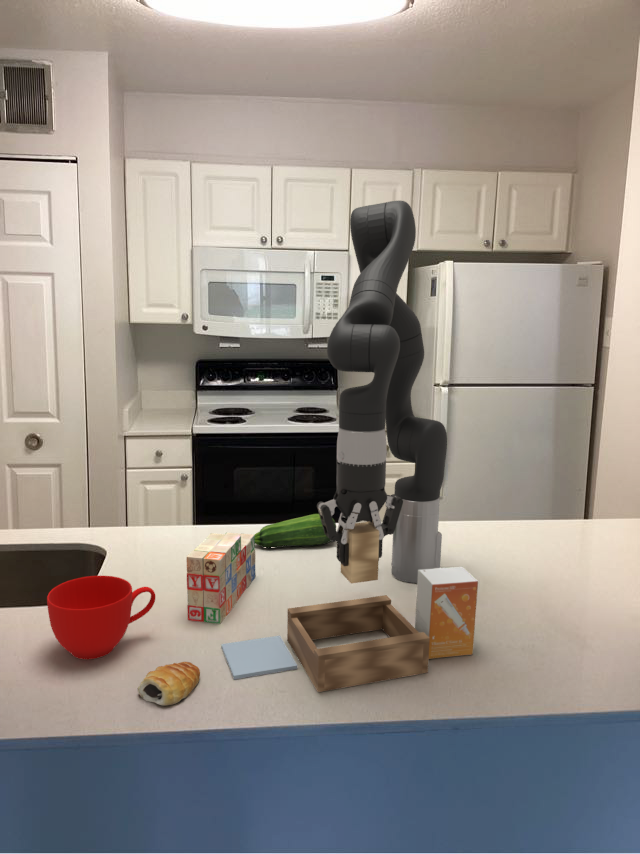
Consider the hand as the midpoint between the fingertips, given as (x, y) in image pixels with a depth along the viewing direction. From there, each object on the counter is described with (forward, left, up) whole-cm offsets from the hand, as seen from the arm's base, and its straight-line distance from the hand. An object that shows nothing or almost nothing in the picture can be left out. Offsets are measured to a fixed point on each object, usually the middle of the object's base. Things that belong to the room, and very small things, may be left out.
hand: (359, 561), depth 108 cm
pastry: (+30, +1, -17) cm, 34 cm away
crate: (0, 0, -16) cm, 16 cm away
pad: (+15, -4, -16) cm, 23 cm away
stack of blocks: (+16, -28, -17) cm, 36 cm away
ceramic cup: (+38, -15, -16) cm, 44 cm away
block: (0, 0, -2) cm, 2 cm away
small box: (-15, +2, -16) cm, 22 cm away
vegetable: (-5, -51, -17) cm, 54 cm away
